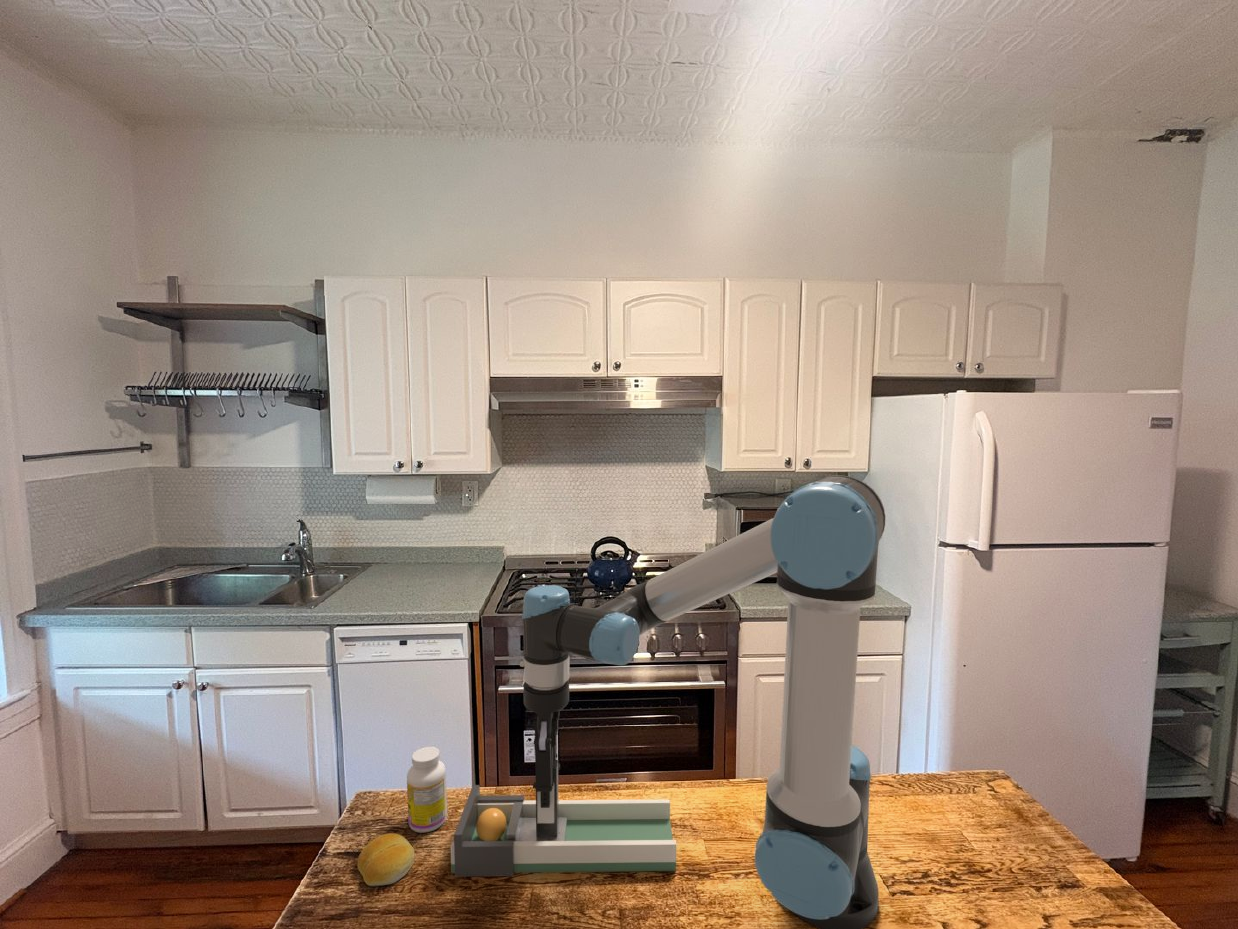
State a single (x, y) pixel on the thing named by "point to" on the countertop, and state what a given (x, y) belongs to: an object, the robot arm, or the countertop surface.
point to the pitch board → (596, 837)
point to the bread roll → (385, 859)
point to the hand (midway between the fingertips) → (547, 814)
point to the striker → (530, 827)
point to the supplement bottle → (426, 791)
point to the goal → (482, 854)
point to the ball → (491, 825)
